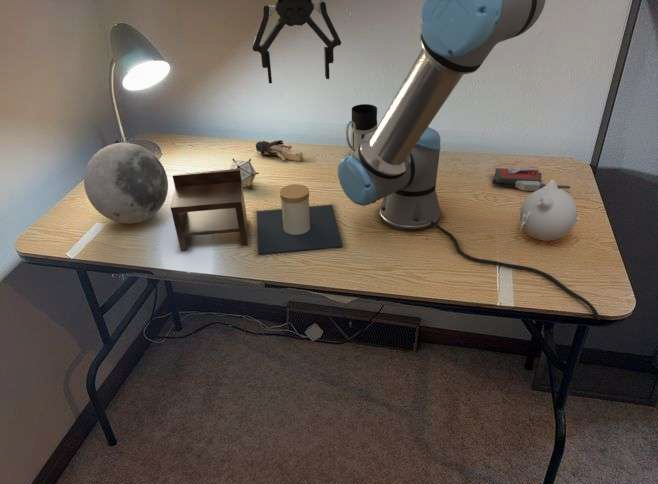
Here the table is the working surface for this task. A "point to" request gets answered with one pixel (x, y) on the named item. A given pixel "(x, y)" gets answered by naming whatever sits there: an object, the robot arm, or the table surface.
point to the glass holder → (361, 124)
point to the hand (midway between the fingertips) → (298, 79)
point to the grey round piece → (548, 213)
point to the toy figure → (278, 150)
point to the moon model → (126, 183)
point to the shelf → (209, 205)
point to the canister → (295, 209)
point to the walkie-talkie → (520, 178)
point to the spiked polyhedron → (245, 172)
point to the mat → (316, 238)
